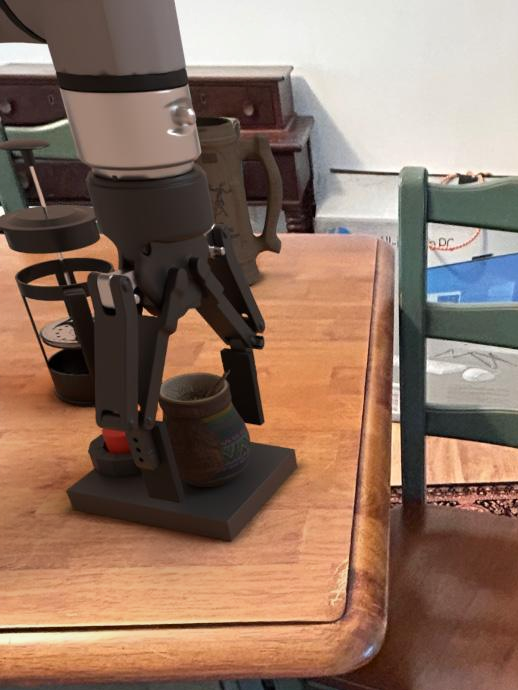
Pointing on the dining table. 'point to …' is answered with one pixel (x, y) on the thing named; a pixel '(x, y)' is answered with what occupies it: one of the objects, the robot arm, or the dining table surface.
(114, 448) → the button
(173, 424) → the mate gourd
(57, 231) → the french press
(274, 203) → the beer stein
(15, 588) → the dining table surface
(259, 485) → the scale
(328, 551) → the dining table surface
